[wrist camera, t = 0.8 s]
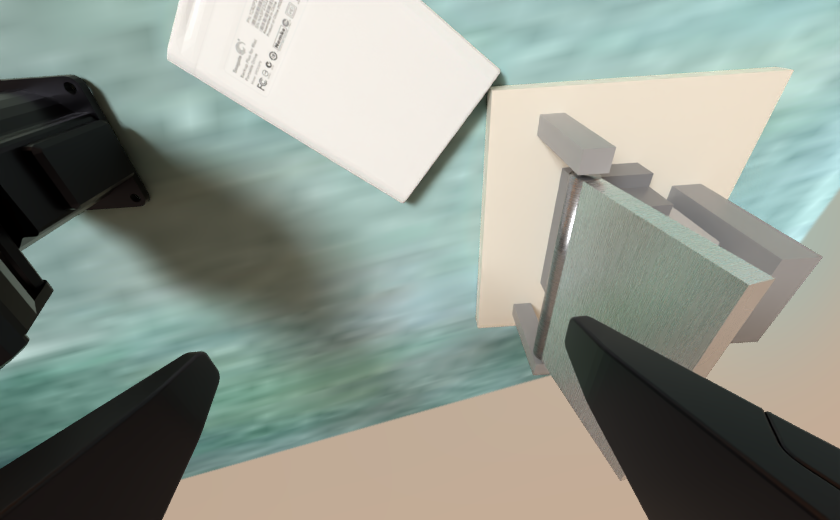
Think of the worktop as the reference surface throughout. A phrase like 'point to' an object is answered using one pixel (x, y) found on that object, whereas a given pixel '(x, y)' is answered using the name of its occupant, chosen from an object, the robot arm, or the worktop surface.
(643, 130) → the board
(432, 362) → the worktop surface
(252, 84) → the external hard drive
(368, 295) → the worktop surface
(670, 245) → the brushed grey panel
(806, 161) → the worktop surface
